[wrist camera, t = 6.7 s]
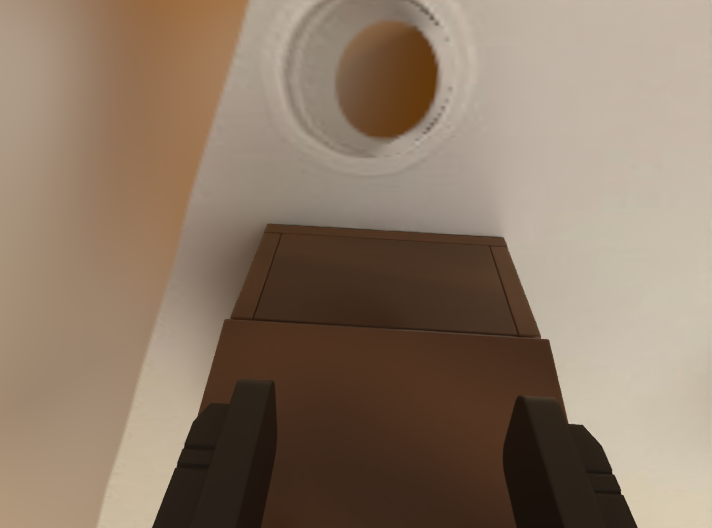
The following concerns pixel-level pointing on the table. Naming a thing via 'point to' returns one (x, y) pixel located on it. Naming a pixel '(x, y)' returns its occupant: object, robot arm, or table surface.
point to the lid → (385, 420)
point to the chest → (385, 282)
